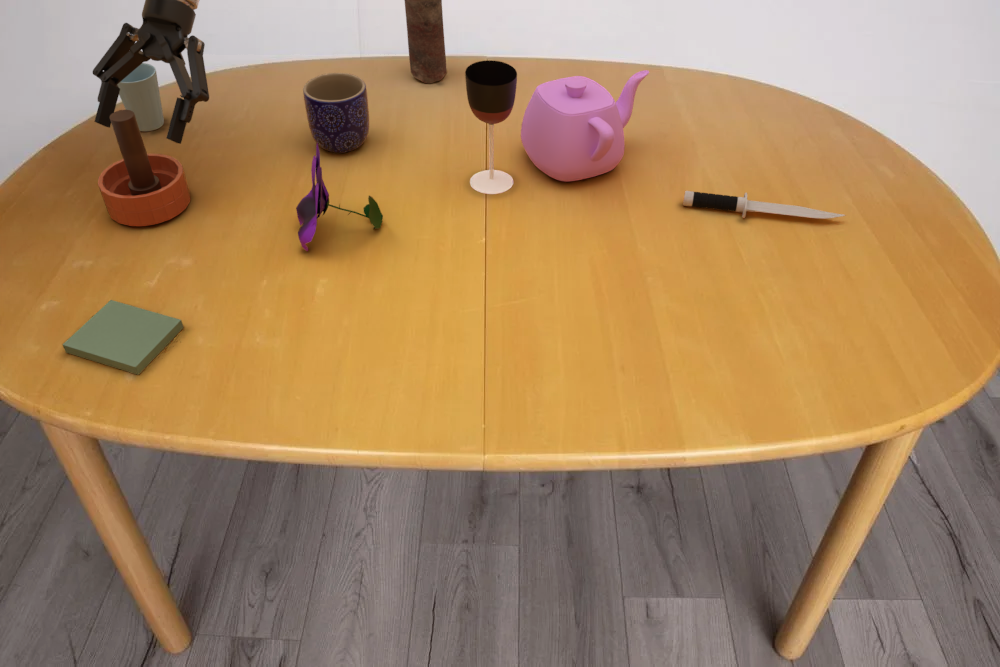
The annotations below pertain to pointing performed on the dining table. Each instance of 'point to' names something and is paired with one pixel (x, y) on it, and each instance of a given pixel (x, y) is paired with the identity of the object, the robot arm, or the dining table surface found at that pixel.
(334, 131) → the planter
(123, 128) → the pestle
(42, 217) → the dining table surface
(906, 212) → the dining table surface
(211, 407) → the dining table surface
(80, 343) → the board
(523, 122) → the teapot
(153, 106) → the cup
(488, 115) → the wineglass
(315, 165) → the flower
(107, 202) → the bowl
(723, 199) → the knife
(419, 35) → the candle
